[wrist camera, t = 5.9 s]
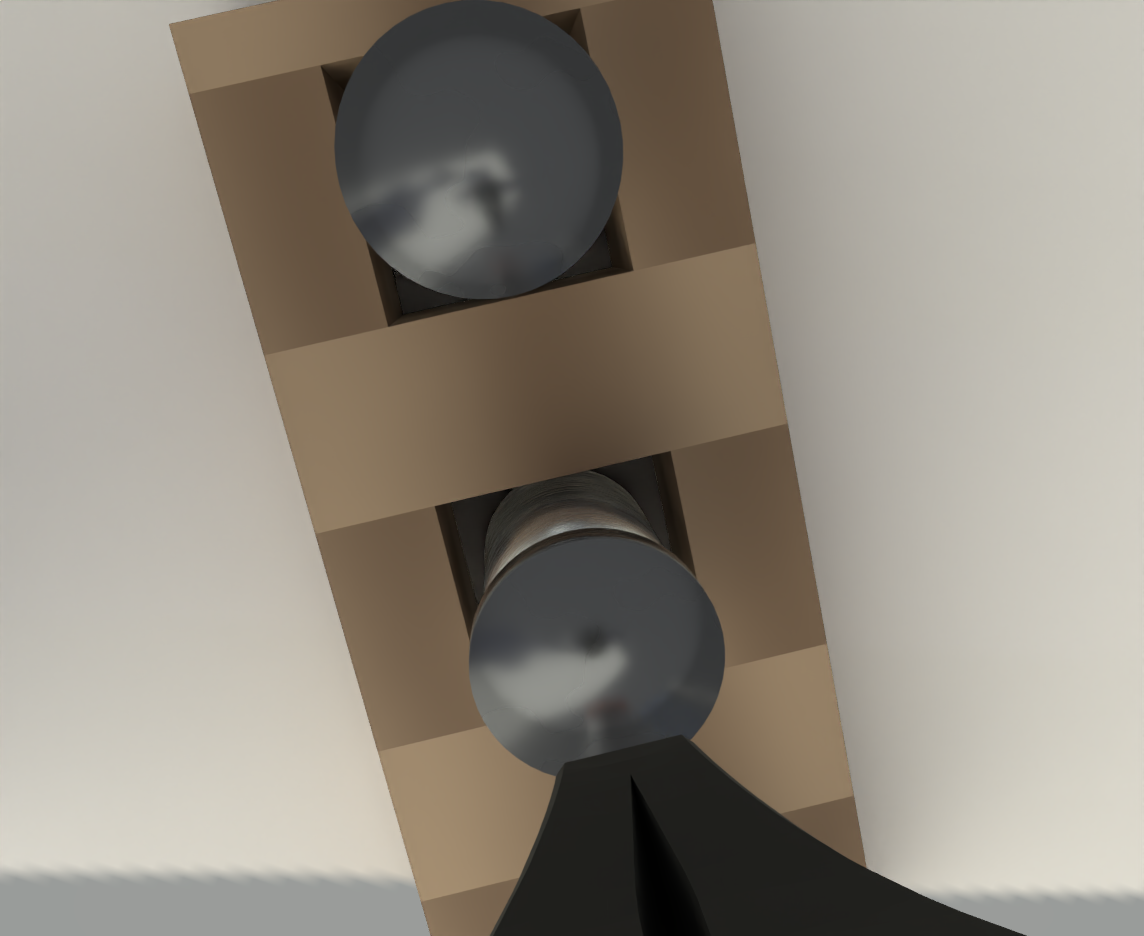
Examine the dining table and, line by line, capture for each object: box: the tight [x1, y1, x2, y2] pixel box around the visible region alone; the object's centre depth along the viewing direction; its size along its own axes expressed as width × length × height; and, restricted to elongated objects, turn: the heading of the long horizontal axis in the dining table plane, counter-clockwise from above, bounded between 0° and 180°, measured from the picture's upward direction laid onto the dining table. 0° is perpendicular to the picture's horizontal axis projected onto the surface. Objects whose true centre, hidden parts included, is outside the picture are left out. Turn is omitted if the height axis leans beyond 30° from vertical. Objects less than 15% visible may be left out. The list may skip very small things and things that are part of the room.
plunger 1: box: [334, 0, 623, 299], centre depth 16 cm, size 4×4×6 cm
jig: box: [169, 0, 867, 936], centre depth 19 cm, size 8×20×3 cm, turn 13°
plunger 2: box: [469, 470, 725, 776], centre depth 17 cm, size 4×4×6 cm
